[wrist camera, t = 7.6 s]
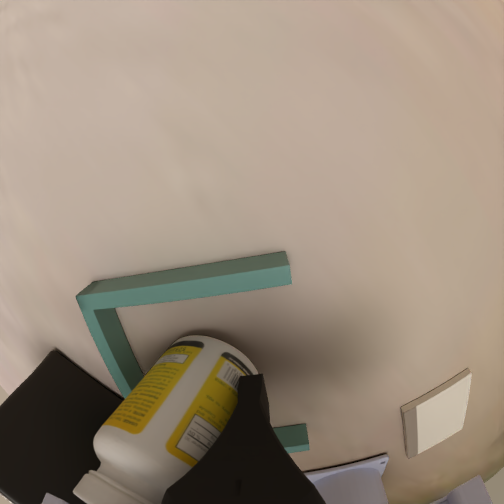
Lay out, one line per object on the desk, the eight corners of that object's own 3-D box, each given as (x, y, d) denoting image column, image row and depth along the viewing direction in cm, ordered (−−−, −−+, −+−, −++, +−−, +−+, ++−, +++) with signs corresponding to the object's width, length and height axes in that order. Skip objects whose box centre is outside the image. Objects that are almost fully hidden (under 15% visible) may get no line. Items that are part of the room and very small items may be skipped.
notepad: (460, 424, 17) (462, 428, 17) (406, 454, 18) (408, 459, 17) (468, 367, 15) (472, 372, 14) (400, 407, 16) (403, 413, 15)
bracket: (306, 430, 16) (309, 450, 14) (168, 437, 17) (162, 455, 15) (285, 251, 13) (289, 265, 11) (92, 281, 13) (75, 296, 12)
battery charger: (45, 370, 16) (-30, 469, 5) (52, 343, 15) (-42, 455, 4) (118, 423, 17) (68, 540, 6) (135, 404, 16) (78, 543, 5)
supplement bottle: (168, 379, 16) (75, 495, 7) (175, 314, 13) (34, 458, 5) (249, 416, 15) (181, 556, 6) (278, 359, 13) (189, 557, 4)
